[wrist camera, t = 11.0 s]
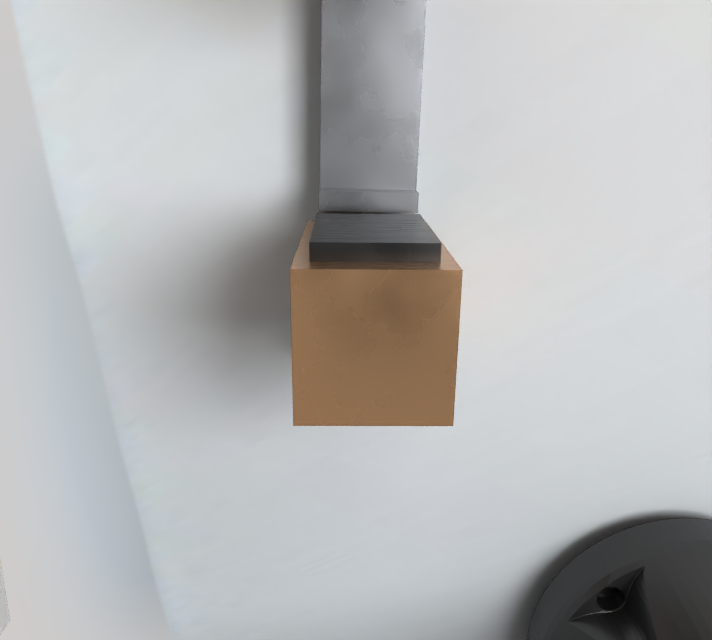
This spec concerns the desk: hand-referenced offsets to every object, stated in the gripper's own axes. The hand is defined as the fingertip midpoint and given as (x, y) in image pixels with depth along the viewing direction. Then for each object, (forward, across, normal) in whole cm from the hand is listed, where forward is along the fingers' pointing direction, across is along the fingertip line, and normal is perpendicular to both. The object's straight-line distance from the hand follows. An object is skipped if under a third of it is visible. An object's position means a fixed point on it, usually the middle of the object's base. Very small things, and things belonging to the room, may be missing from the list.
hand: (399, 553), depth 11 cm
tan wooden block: (+18, 0, 0) cm, 19 cm away
